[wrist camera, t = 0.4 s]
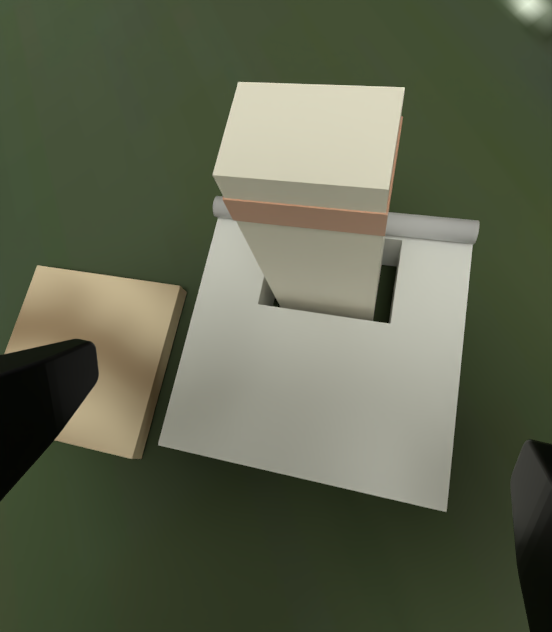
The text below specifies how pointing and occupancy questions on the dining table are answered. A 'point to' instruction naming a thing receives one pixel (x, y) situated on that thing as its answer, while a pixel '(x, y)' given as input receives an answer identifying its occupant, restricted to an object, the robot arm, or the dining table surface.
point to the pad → (106, 348)
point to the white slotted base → (330, 369)
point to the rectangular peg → (313, 188)
